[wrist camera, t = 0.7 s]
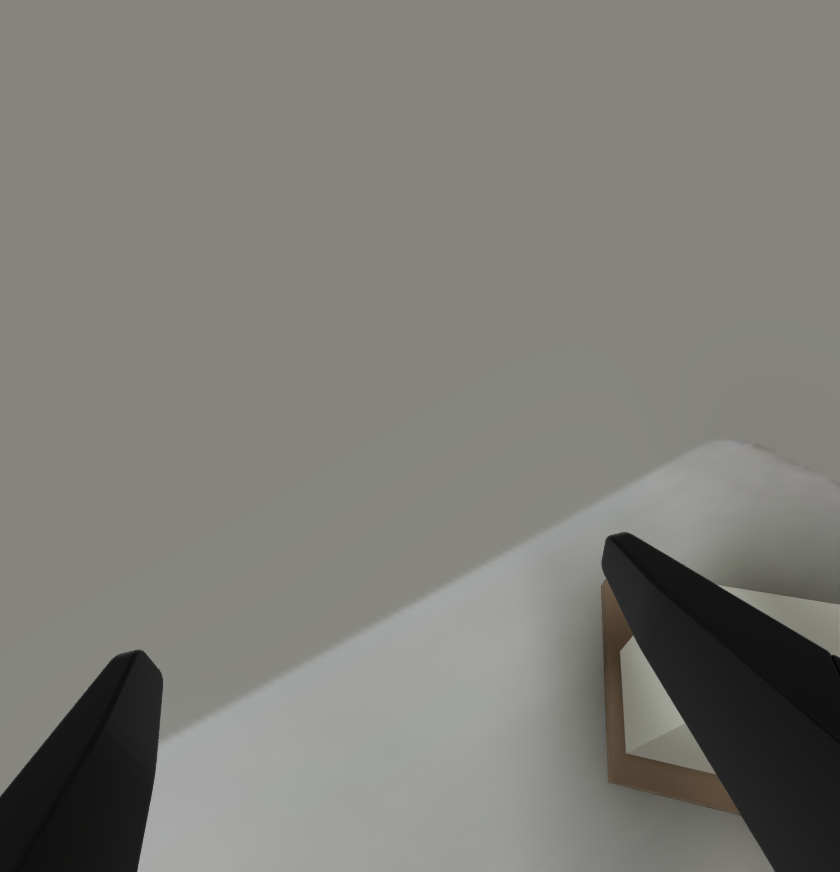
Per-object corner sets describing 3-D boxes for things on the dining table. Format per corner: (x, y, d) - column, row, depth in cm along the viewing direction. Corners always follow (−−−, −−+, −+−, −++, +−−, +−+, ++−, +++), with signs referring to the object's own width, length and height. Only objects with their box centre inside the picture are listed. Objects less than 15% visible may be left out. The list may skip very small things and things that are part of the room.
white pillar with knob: (762, 785, 18) (921, 759, 12) (625, 753, 19) (704, 713, 13) (739, 674, 20) (859, 604, 14) (620, 651, 21) (682, 576, 15)
